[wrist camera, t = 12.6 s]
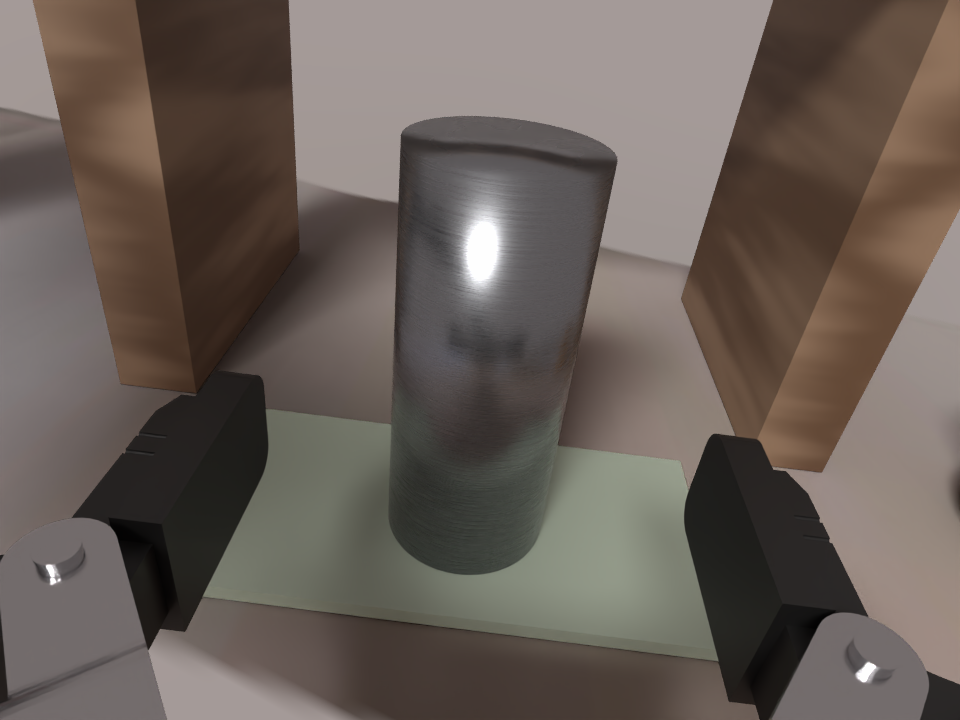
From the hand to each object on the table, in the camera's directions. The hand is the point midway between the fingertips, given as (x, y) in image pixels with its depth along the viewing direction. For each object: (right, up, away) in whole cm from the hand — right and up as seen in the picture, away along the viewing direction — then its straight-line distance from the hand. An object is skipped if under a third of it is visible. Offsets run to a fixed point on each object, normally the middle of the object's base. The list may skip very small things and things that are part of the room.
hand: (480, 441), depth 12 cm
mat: (-1, -4, +10) cm, 11 cm away
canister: (-1, -4, +10) cm, 10 cm away
